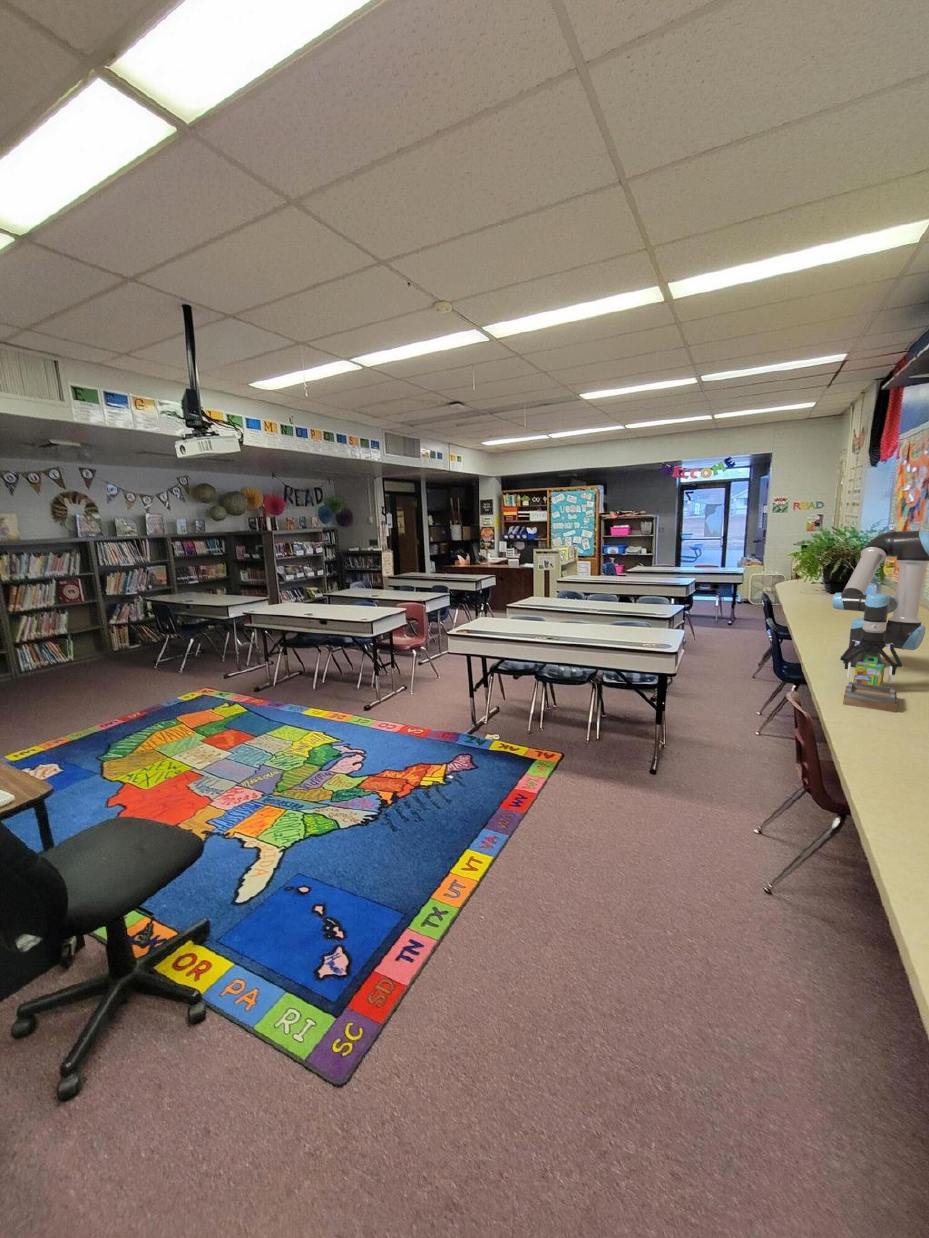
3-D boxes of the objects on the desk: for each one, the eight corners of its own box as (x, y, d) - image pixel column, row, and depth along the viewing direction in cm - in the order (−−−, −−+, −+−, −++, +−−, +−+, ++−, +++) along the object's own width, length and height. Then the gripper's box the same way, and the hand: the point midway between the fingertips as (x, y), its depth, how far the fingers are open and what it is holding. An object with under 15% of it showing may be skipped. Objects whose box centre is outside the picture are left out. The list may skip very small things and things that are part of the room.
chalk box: (852, 690, 210) (855, 656, 207) (855, 684, 217) (858, 651, 214) (880, 694, 204) (884, 660, 201) (882, 688, 210) (886, 655, 207)
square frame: (845, 692, 208) (846, 681, 207) (895, 699, 198) (896, 687, 197) (843, 704, 196) (844, 692, 195) (896, 712, 186) (897, 699, 185)
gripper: (835, 629, 210) (831, 676, 214) (914, 635, 194) (907, 686, 198) (837, 626, 216) (832, 672, 220) (913, 632, 200) (907, 681, 204)
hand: (868, 679), depth 209 cm, fingers open, 13 cm apart
